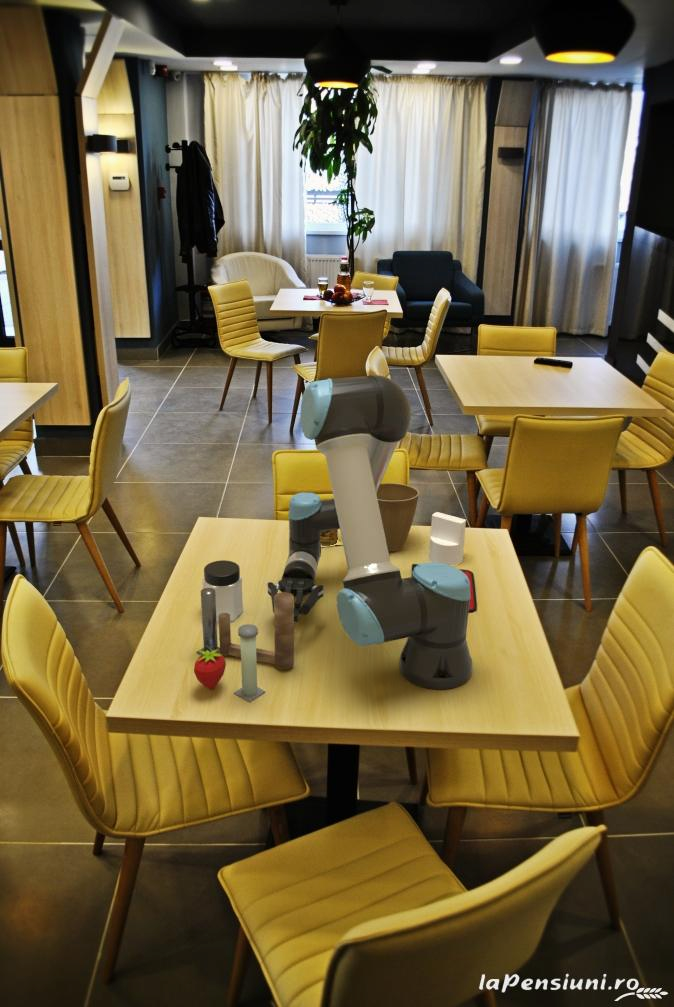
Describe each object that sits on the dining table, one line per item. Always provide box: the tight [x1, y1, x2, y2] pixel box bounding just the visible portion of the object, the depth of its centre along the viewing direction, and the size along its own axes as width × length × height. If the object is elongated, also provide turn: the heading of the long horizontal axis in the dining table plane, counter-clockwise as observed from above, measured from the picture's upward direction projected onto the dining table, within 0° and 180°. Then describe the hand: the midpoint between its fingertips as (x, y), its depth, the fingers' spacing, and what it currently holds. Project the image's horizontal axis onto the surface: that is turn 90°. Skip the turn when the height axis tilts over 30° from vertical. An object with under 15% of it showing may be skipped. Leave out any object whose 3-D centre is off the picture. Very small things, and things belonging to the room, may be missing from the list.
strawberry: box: [193, 645, 227, 691], centre depth 169 cm, size 6×8×10 cm
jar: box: [202, 559, 244, 623], centre depth 196 cm, size 9×8×12 cm
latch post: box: [233, 623, 266, 703], centre depth 167 cm, size 4×4×15 cm
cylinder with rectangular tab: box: [428, 511, 467, 566], centre depth 224 cm, size 9×9×12 cm
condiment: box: [320, 498, 339, 546], centre depth 233 cm, size 7×8×12 cm
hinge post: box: [195, 588, 220, 656], centre depth 180 cm, size 4×4×15 cm
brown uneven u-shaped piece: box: [218, 591, 295, 670], centre depth 177 cm, size 17×4×16 cm, turn 72°
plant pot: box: [376, 482, 420, 552], centre depth 229 cm, size 15×15×16 cm
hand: (285, 626), depth 177 cm, fingers closed
